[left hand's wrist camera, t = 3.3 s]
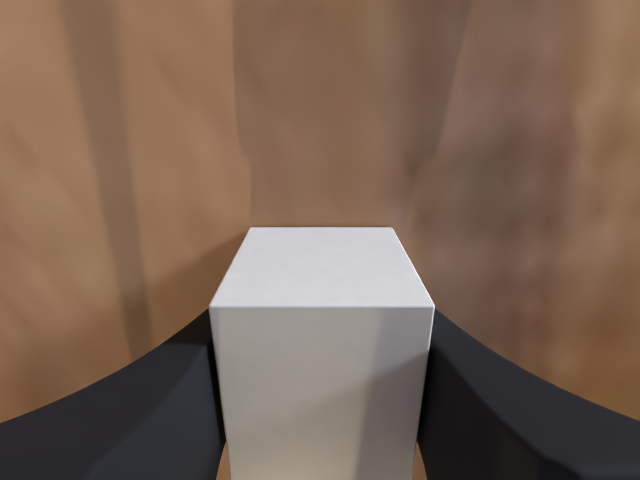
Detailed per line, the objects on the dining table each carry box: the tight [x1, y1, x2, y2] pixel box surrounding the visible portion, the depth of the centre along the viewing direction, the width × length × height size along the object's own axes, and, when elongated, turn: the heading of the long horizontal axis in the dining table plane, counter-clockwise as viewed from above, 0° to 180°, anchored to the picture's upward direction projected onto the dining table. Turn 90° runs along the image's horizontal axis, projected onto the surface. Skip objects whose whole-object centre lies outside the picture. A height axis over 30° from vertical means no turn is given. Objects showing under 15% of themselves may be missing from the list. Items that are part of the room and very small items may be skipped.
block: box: [208, 227, 435, 480], centre depth 10 cm, size 4×5×5 cm
